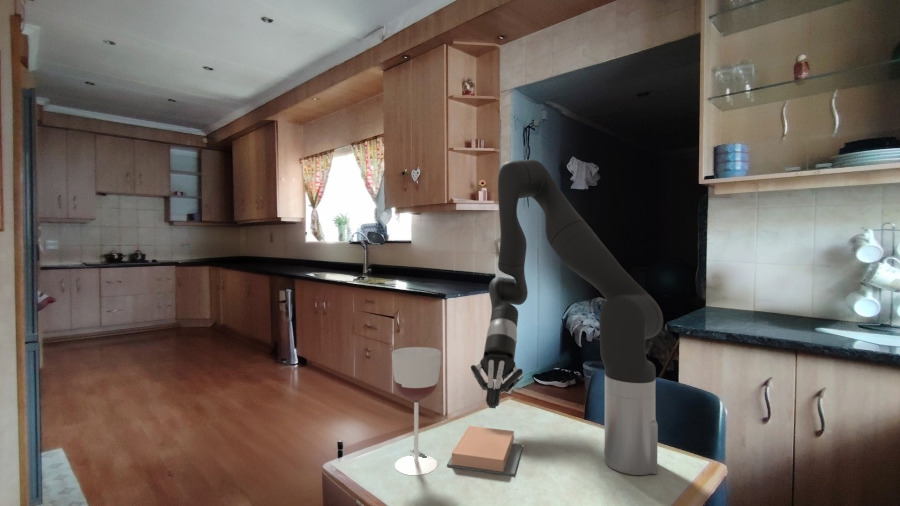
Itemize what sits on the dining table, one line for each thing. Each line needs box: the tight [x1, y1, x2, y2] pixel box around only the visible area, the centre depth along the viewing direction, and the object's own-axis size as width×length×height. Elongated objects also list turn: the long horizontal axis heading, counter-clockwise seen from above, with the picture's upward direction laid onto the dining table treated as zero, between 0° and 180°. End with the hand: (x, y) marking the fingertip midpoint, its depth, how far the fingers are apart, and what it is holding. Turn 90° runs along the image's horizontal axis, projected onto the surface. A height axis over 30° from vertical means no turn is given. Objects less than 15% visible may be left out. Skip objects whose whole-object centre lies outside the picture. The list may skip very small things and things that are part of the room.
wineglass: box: [391, 346, 442, 476], centre depth 86 cm, size 9×10×22 cm
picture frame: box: [451, 425, 515, 472], centre depth 91 cm, size 10×2×14 cm
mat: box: [446, 443, 524, 477], centre depth 90 cm, size 13×13×1 cm
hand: (492, 406), depth 99 cm, fingers closed
